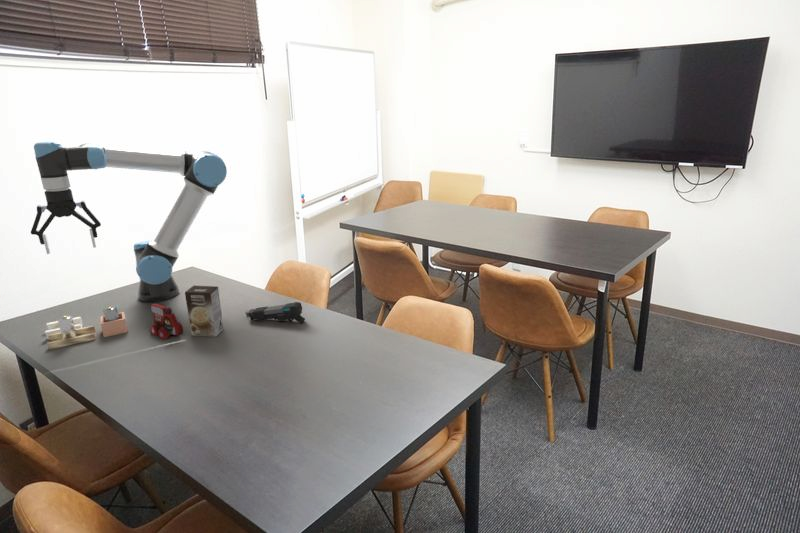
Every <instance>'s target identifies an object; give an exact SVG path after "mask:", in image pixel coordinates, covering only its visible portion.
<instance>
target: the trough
mask: <svg viewBox="0 0 800 533" xmlns="http://www.w3.org/2000/svg"><path fill="white" fill-rule="evenodd" d="M75 330H76V334H77V337H73V338H68V339H63V338H62V335H61V332H60V333H56V334H51V335H49V339H48V341H49V342H46V344H47V349H48V350H53V349H58V348H62V347H67V346H71V345H77V344H80V343H85V342H90V341H94V340H96V338H97V337H96V336H97V335H96V328H95V325H90V326H84V327H82V328H80V329H75Z"/></svg>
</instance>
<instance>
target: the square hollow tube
mask: <svg viewBox="0 0 800 533" xmlns="http://www.w3.org/2000/svg"><path fill="white" fill-rule="evenodd" d="M118 315H119V319H118V320H113V321H109V322H106V319H105V316H104V315H101V316H100V317H99V318H100V326H101V330H102V335H103V338H107V337H112V336H116V335H121V334H122V335H123V334H125V333H126V334H127V333H128V332H129V330H128V325H127V320H126V316H125V312H124V311H122V312H118Z"/></svg>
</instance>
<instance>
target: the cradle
mask: <svg viewBox="0 0 800 533" xmlns="http://www.w3.org/2000/svg"><path fill="white" fill-rule="evenodd" d="M72 318H73V322H74V326H75V329H80V328H83V320H82V317H81V316H76V317H72ZM56 326H59V323H58V320H56V321H52V322H51V321H50V322H46V328H47V330H45V331H44V334H45V337H46V340H49V335H51V334H56V333H60V332H61V331H60V328H57V329H56Z"/></svg>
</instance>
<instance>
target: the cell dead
mask: <svg viewBox="0 0 800 533" xmlns="http://www.w3.org/2000/svg"><path fill="white" fill-rule="evenodd" d="M102 311H103V316H105V319H106V322H109V321H113V320H118V319H119V315H118V313H119V312H118V309H117V307H116V306H107V307H106V308H104V309H103V310H102Z"/></svg>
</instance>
